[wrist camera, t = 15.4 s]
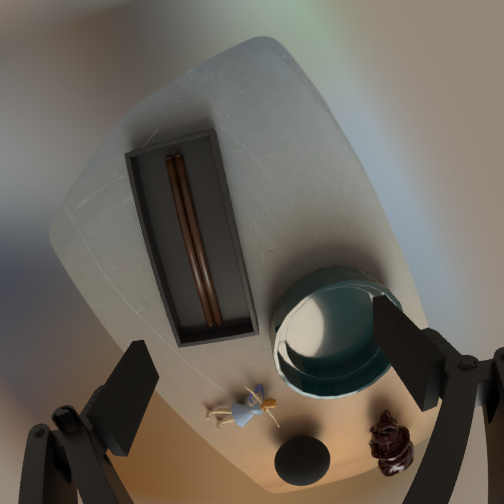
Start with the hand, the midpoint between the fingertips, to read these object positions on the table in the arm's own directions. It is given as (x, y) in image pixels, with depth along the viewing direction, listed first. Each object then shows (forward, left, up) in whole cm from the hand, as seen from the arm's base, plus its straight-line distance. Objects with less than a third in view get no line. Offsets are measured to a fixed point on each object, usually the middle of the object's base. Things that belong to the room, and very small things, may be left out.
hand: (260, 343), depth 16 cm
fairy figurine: (+7, +26, -24) cm, 36 cm away
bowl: (-9, +14, -24) cm, 29 cm away
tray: (+7, -2, -24) cm, 25 cm away
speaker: (-1, +39, -24) cm, 46 cm away
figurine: (-18, +42, -24) cm, 52 cm away
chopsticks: (+7, -2, -23) cm, 24 cm away
